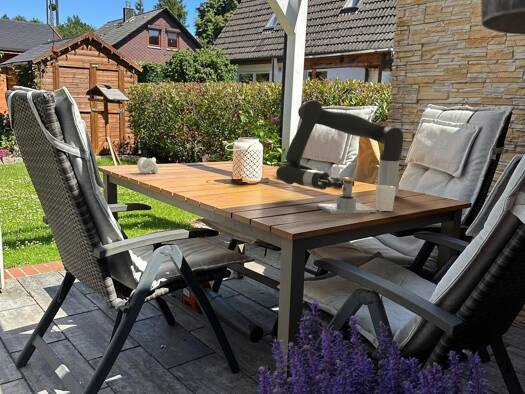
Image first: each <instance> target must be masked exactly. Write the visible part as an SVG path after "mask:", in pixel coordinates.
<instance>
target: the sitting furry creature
mask: <svg viewBox="0 0 525 394" xmlns="http://www.w3.org/2000/svg"><path fill="white" fill-rule="evenodd" d="M342 168H343V167H342V165H340V166H339V165H338V164H333V165H332V167H331V169H330V171H331V174H330V178H331V177H335V178H336V177H338V178H341V176H340V174H339V172H340V170H341V169H342Z"/></svg>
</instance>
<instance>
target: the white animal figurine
mask: <svg viewBox="0 0 525 394" xmlns="http://www.w3.org/2000/svg"><path fill="white" fill-rule="evenodd" d="M156 162H157V159H156V157H152V158H147V157H140V158H139V159H138V160H137V169H138V171H139V172H140V173H141V174H143V175H145V174H149V173H150V172H151V173H152V174H157V173H158V172H159V167H158V164H157V163H156Z"/></svg>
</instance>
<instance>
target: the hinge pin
mask: <svg viewBox="0 0 525 394" xmlns="http://www.w3.org/2000/svg"><path fill="white" fill-rule="evenodd" d="M342 178H343V183H344V185H343V186H342V195H341V196H342V198H345V199H351V196H352V193H353V186H352V184H353V181H354V182H355V178H354V177H351V176H350V177H349V176H348V177H347V176H343V177H342Z"/></svg>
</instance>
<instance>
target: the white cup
mask: <svg viewBox="0 0 525 394" xmlns="http://www.w3.org/2000/svg"><path fill="white" fill-rule="evenodd" d="M395 190H396V187H394V186H387V185H378V184H377V185H376V186H375V210H376V211H377V210H379V211H378V212H381V211H392V212H393V209H394V203H395V197H396V196H395Z"/></svg>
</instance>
